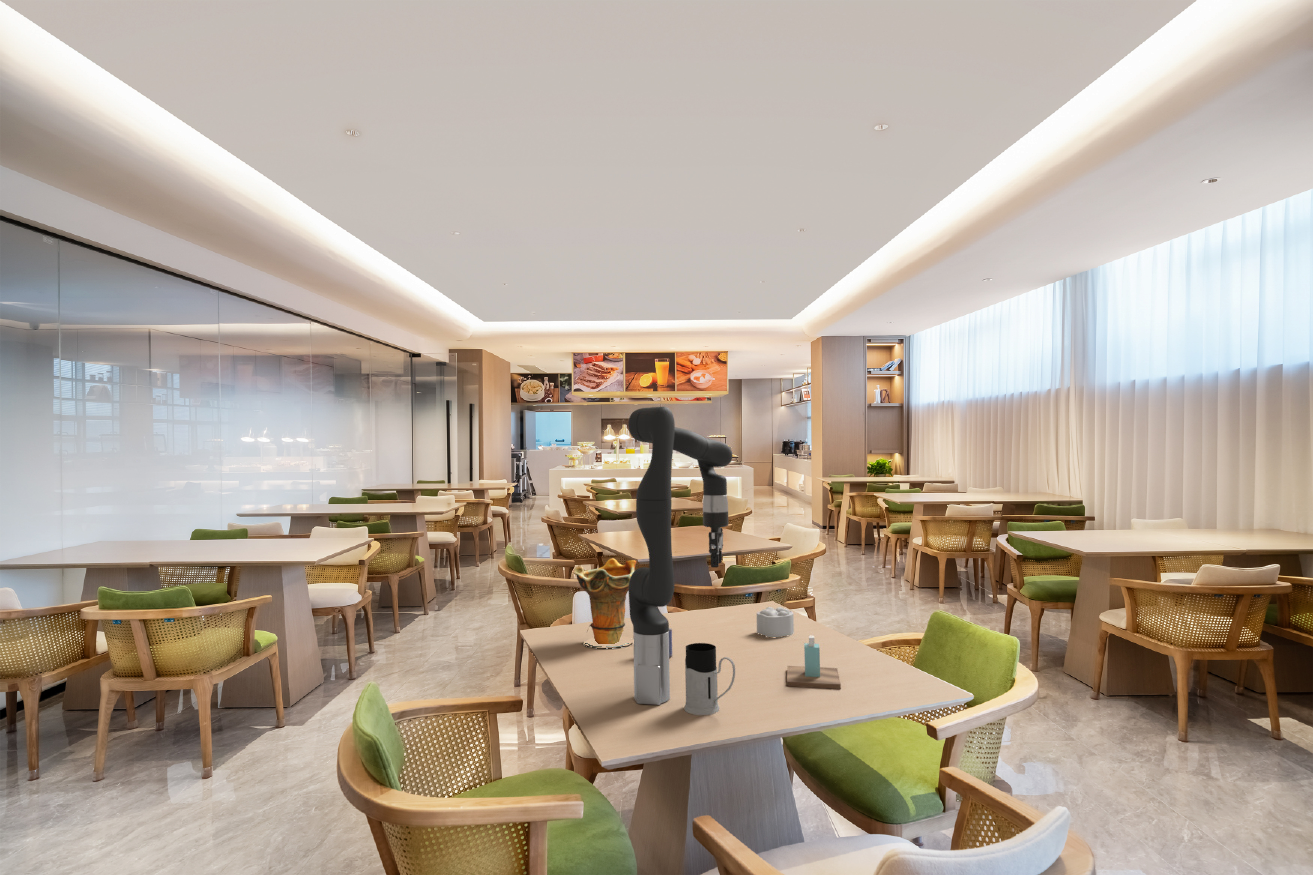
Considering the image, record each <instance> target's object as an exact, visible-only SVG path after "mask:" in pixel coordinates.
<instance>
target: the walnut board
mask: <svg viewBox="0 0 1313 875" xmlns="http://www.w3.org/2000/svg"><path fill="white" fill-rule="evenodd" d="M786 671H787V672H786V673H787V674H786V686H787V687H797V688H799V687H801V688H816V689H817V688H818V689H819V688H820V689H832V690H833V689H834V690H835V689H837V690H838V689H839V690H841V687H842V686H841V679H840V676H839V675H840V674H839V670H838V668H837V667H826V666H825V667H824V666H820V677H805V665H804V666H803V665H800V666H799V665H787V670H786Z"/></svg>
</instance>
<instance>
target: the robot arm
mask: <svg viewBox="0 0 1313 875" xmlns="http://www.w3.org/2000/svg"><path fill="white" fill-rule="evenodd" d="M627 425H628V431H629V433H630V435H631V437H632V438H633V439H635V440H636V441H637V442H641V443H649V444H651V445H652V448H651V458H650V462H649V465H648V467H647V470H646V471H645V473H644V475H643V477H642V479H641V481H640V482H639V484H638V488H637V490H636V497H635V498H636V500H635V503H636V504H635V510H636V511H635V514H636V515H635V517H636V521H637V525H638V527H639V530H640V532H641V535H642V537H643V539H644V541H645V545H646V546H647V553H648V560H649V561H648V564H649V566H648V567H643V566H642V567H639V568H637V569H635V571H634V572H633V574H632V575H631V578H630V581H629V591H628V604H629V605H628V606H629V617H630V618H629V619H630V621H631V623H632V630H633V633H632V634H633V636H632V637H633V638H632V639H633V640H634V644H633V690H634V691H633V694H634V695H633V697H634V700H635V701H636V704H639V705H641V704H644V705H658V706H659V705H661V704H664V703H667V702H668V701H669V700H670V698H671V688H670V687H671V684H670V682H671V681H670V678H671V677H670V658H669V628H670V624H669V620H668V618H667V617H666V616H665V615H664V614H663V613H662V612H661V610H660V609H659V608H663V607H666V606H667V605H668V604H670V602H671V600H672V599H673V596H674V592H675V584H676V583H675V571H674V562H673V561H674V560H673V551H672V550H673V548H672V546H673V545H672V468H673V467H672V466H673V465H672V464H673V453H674V451H676V452H678V453H680V454H682V455H685V456H687V457H689V458H692V459H693V460H697V464H698V467H699V471H700V475H701V479H702V483H703V484H702V485H703V488H702V489H703V490H702V491H703V497H702V526H703V527H706V528H710V531H708V552H709V554H710V567H711V568H719V565H720V564H722V562H723V557H722V556H723V553H722V550H723V547H724V533H723V530H724V529H723V528H725V527H728V526H729V501H728V485H727V484H728V483H727V477H726V476H724V475H721V474H719V473H717V472H716V470H715V469H714V468H723V467H727V466H728V465H729V464H730V463H731V462H732V461H733V460H732V459H733V452H732V449H731V447H730V446H729V445H728V444H727V443H725V442H723V441H719V440H716V439H711V438H707V437H705V436H703V435H701V434H698V433H697V432H696V431H692V430H689V429H685V428H680V427H676V424H675V417H674V414H673V412H672V410H671V409H670V408H669V407H667V406H652V407H642V408H638V409H636V410H634V411H632V413H630V416H629V419H628V424H627Z"/></svg>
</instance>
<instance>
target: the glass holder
mask: <svg viewBox="0 0 1313 875" xmlns="http://www.w3.org/2000/svg"><path fill="white" fill-rule="evenodd" d="M724 660H727V661H729V662H730V663H731V666H732V677H731V681H730V684H729V686H728V688H727V689H726V690H725V691H724V692H723V693H721V694H720V695H718V674H719V673H721V672H722V671H721V670H722V662H723V661H724ZM684 662H685V663H684V666H685V672H684V674H685V704H684V708H683V709H684V711H685V712H686V713H687V714H691V715H693V716H710V715H714V714H716V712H717V713H719V711H720V710H719V709H720V705H719V703H718V700H719V699H720V698H722V697H723V696H725V694H726V693H728V692H729V691H730V690H731V689H732V687H733V685H734V682H735V678H736V664H735V662H734V661H733V660H732V659H731V658H730V657H725V656H724V657H722V658H721V659H720V660H719V661H718V667H717V647H716V645H715V644H711V643H705V642H695V643H690V644H687V645H686V646H685V659H684Z"/></svg>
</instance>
